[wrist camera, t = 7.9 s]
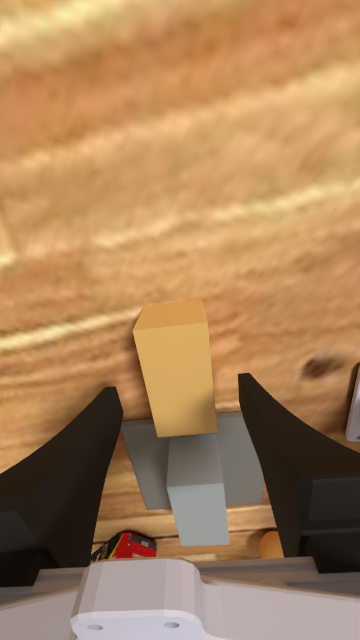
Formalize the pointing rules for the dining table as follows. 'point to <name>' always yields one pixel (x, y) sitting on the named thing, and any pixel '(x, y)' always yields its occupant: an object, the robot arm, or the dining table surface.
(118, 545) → the race car
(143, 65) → the dining table surface
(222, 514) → the slate brick
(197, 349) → the ochre brick
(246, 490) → the mat
